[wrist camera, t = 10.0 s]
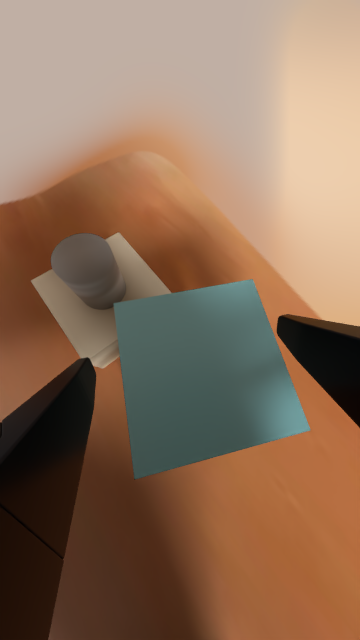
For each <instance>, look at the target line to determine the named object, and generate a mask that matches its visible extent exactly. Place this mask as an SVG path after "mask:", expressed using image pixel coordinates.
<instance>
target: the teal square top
mask: <svg viewBox="0 0 360 640" xmlns="http://www.w3.org/2000/svg"><path fill="white" fill-rule="evenodd" d="M113 304H114V312H115V320H116V329H117V337H118V346H119V354H120V362H121V371H122V379H123V388H124V396H125V404H126V413H127V421H128V430H129V438H130V446H131V455H132V463H133V471H134V480H135V479H138V478H142V477H145V476H149V475H152V474H156V473H160V472H163V471H167V470H170V469H174V468H177V467H181V466H185V465H188V464H192V463H195V462H199V461H202V460H206V459H210V458H213V457H217V456H220V455H224V454H227V453H231V452H235V451H238V450H242V449H245V448H249V447H252V446H256V445H260V444H263V443H267V442H270V441H274V440H277V439H281V438H285V437H288V436H292V435H295V434H299V433H302V432H306V431H310V428H309V425H308V422H307V420H306V417H305V414H304V412H303V409H302V407H301V404H300V401H299V399H298V396H297V394H296V391H295V388H294V386H293V383H292V381H291V378H290V375H289V373H288V370H287V368H286V365H285V362H284V360H283V357H282V355H281V352H280V349H279V347H278V344H277V342H276V339H275V336H274V334H273V331H272V328H271V326H270V323H269V321H268V318H267V315H266V313H265V310H264V308H263V305H262V302H261V300H260V297H259V295H258V292H257V289H256V287H255V284H254V282H253V279H251V280H245V281H239V282H234V283H228V284H222V285H216V286H211V287H205V288H199V289H193V290H187V291H182V292H176V293H170V294H164V295H159V296H153V297H147V298H141V299H136V300H130V301H124V302H118V303H113Z"/></svg>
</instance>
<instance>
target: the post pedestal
mask: <svg viewBox="0 0 360 640" xmlns="http://www.w3.org/2000/svg"><path fill="white" fill-rule="evenodd" d="M51 266H52V269H51V270H49V271H47V272H46V273H44V274H42V275H40V276H38V277H37V278H35V279H33V280H31V282H32V284H33V285H34V287H35V288H36V290H37V291H38V293H39V295H40V296H41V298H42V299H43V301H44V302H45V304H46V305H47V307H48V308H49V310H50V311H51V313H52V314H53V316H54V318H55V319H56V321H57V322H58V324H59V325H60V327H61V328H62V330H63V331H64V333H65V334H66V336H67V337H68V339H69V340H70V342H71V344H72V345H73V347H74V348H75V350H76V351H77V353H78V354H79V356H80V357H81V358H86V357H88V358H89V359H90V360H91V362H92V365H93V366H96V367H100V368H104V367H106V366H107V365H109V364H110V363H111V362H113V361H114V360H115V359H117V358H118V357H119V356H120V354H119V346H118V337H117V329H116V320H115V312H114V304H113V303H118V302H124V301H130V300H136V299H141V298H147V297H153V296H159V295H164V294H170V293H171V291H170V290H169V289H168V288H167V287H166V286H165V285H164V283H163V282H162V281H161V280H160V279H159V278H158V276H157V275H156V274H155V273H154V272H153V271H152V270H151V268H150V267H149V266H148V265H147V264H146V263H145V262H144V260H143V259H142V258H141V257H140V256H139V255H138V254H137V252H136V251H135V250H134V249H133V248H132V247H131V245H130V244H129V243H128V242H127V241H126V240H125V239H124V237H123V236H122V235H121V234H120V233H119V232H118V233H116V234H114V235H112V236H111V237H109V238H107V239H105V240H104V239H103V238H102V237H100V236H98V235H95V234H90V233H80V234H75V235H72V236H69V237H67V238H65V239H64V240H62V241H61V242H60V243H59V244H58V245H57V246H56V247H55V249H54V250H53V253H52V255H51Z"/></svg>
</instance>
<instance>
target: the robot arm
mask: <svg viewBox="0 0 360 640" xmlns="http://www.w3.org/2000/svg"><path fill="white" fill-rule="evenodd" d="M277 334H278V336H279V338H280V339H281V340H282V341H283V343H284V344H285V345H286V347H287V348H288V349H289V351H290V352H291V353H292V355H293V356H294V357H295V358H296V360H297V361H298V362H299V363H300V364H301V365H302V366H303V367H304V368H305V369H306V371H307V372H308V373H309V374H310V375H311V376H312V377H313V378H314V379H315V380H316V381H317V382H318V383H319V385H320V386H321V387H322V388H323V389H324V390H325V391H326V392H327V393H328V394H329V395H330V396H331V397H332V398H333V400H334V401H335V402H336V403H337V404H338V405H339V406H340V407H341V408H342V409H343V410H344V411H345V412H346V414H347V415H348V416H349V417H350V418H351V419H352V420H353V421H354V422H355V423H356V424H357V425H358V426H359V428H360V327H359V326H353V325H347V324H342V323H335V322H330V321H324V320H318V319H313V318H307V317H301V316H295V315H289V314H286V315H281V316H279V318H278V323H277ZM95 386H96V372H95V370H94V367H93V365H92V362H91V360H90V359H89V358H88V357H86V358H81V359H78V360H77V361H76V362H74V363H73V364H72V365H71V366H69V367H68V368H67V369H66V370H64V371H63V372H62V373H61V374H59V375H58V376H57V377H56V378H54V379H53V380H52V381H51V382H49V383H48V384H47V385H46V386H44V387H43V388H42V389H41V390H39V391H38V392H37V393H36V394H35V395H33V396H32V397H31V398H30V399H28V400H27V401H26V402H25V403H23V404H22V405H21V406H20V407H18V408H17V409H16V410H15V411H13V412H12V413H11V414H10V415H8V416H7V417H6V418H5V419H3V420H2V423H1V422H0V640H48V637H49V632H50V627H51V622H52V617H53V612H54V607H55V602H56V597H57V592H58V587H59V581H60V576H61V571H62V566H63V559H64V555H65V550H66V545H67V540H68V535H69V530H70V525H71V520H72V515H73V510H74V505H75V500H76V495H77V490H78V485H79V480H80V475H81V470H82V465H83V460H84V455H85V450H86V445H87V440H88V435H89V430H90V425H91V420H92V415H93V409H94V399H95Z"/></svg>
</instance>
